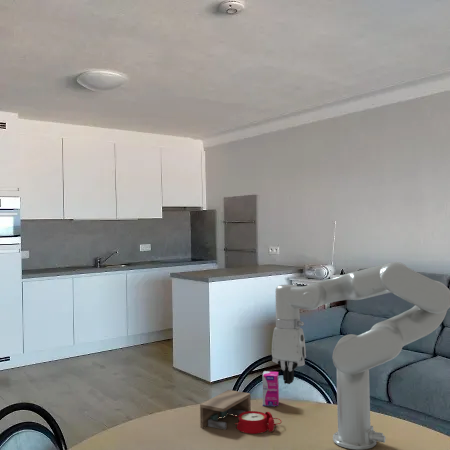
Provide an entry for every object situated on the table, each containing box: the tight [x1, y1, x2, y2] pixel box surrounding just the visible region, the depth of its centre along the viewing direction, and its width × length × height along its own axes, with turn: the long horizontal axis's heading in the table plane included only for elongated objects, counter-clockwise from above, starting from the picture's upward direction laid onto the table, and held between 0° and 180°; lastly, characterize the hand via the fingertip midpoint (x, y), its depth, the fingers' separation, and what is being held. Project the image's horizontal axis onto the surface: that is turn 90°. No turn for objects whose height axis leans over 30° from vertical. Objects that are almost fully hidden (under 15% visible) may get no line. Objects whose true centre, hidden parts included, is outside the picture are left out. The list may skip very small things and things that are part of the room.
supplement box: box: [261, 370, 280, 407], centre depth 180 cm, size 6×6×12 cm
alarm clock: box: [233, 410, 282, 435], centre depth 157 cm, size 10×6×15 cm
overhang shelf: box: [199, 389, 252, 431], centre depth 163 cm, size 9×18×8 cm, turn 149°
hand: (288, 382), depth 152 cm, fingers closed
